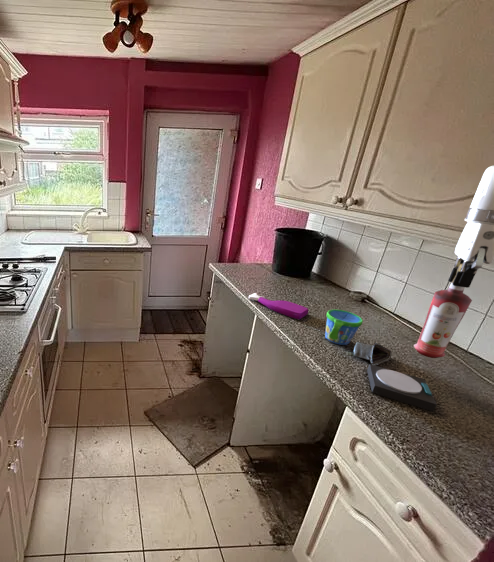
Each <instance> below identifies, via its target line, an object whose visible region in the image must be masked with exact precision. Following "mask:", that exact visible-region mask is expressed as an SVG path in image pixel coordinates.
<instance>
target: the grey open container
mask: <svg viewBox="0 0 494 562" xmlns="http://www.w3.org/2000/svg"><path fill="white" fill-rule="evenodd" d="M392 353H393V352H392V350H391V349H389V348H387V347H385V346H383V345H381V344H379V343H377V342H374V343H373V344H369V343H366V342H362V341H361V342H360V341H357V342H355V345H354V347H353V356H354V357H356V358H360V359H363V360H367V361H369V362H370V364H371V365H375V366H378V365H380V364H383V363H384V362H387V361H390V360H391V358H392V356H393V355H392Z"/></svg>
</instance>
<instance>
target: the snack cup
mask: <svg viewBox="0 0 494 562" xmlns="http://www.w3.org/2000/svg"><path fill="white" fill-rule="evenodd" d="M363 322H364V320H363V318H362V317H361V316H359V315H358V314H357V313H353V312H350V311H348V310H343V309H334V308H333V309H329V310H328V311H327V312H326V323H325V333H324V335H325V339H326V340H328V341H329V342H331V343H332V344H336V345H341V346H347V345H349V344H350V343H351V341H352V339H354V336H355V334H356V333H357V332H358V329H359V328H360V327H361V326H362V325H363Z"/></svg>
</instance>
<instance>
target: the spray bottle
mask: <svg viewBox="0 0 494 562" xmlns="http://www.w3.org/2000/svg"><path fill="white" fill-rule="evenodd" d="M248 300H253V301H257V303H259V304H261V305H263V306H264V307H266V308H268V309H269V310H271V311H273V312H275V313H277V314H280V315H283V316H286V317H287V318H292V319H295V320H301V319H302V318H305V317H306V316H308V314H309V308H307V307H305V306H303V305H300V304H298V303H295V302H292V301H289V300H284V299H283V300H280V299H279V300H271V299H268V298H265V296H262V295H259V294H258V292H254V293H252V294H249V295H248Z"/></svg>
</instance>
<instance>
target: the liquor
mask: <svg viewBox="0 0 494 562" xmlns="http://www.w3.org/2000/svg"><path fill="white" fill-rule="evenodd" d="M468 265H469V264H467V266H468ZM461 267H462V264H459V267H458V269H457V272H458V271H460V269H461ZM456 274H457V273H456ZM455 277H456V276H455ZM454 279H455V278H454ZM454 279H453V281H454ZM453 281H452V282H450V284H449V286H448V288H447V289H441V290H437V291H434V293H433V296H432V300H431V302H430V305H429V308H428V311H427V315H426V317H425V320H424V323H423V326H422V329H421V332H420V334H419V337H418V339H417V342H416V343H415V344H413V348H414V349H415V350H416V351H417V353H418V354H420V355H421V356H423V357H426V358H430V359H439V358H442V357H443V358H444V357H445V356H446V353H445V351H446V349H447V348H448V345H449V343H450V341H451V339H452V337H453V336H454V334H455V332H456V331H457V328H458V327H459V325H460V323H461V322H462V320H463V318H464V316H466V313H467V311H468V309H469V307H470V305H471V304H472V301H473V300H472V299H471V297H470V296H469V295H467V294H465V293H464V291H465V288H466V287H460V286H454V285H453Z"/></svg>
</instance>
